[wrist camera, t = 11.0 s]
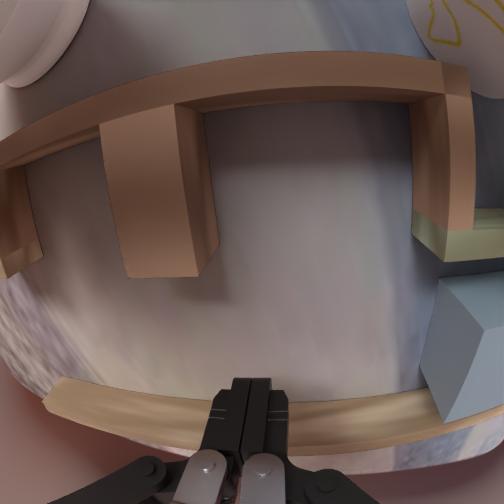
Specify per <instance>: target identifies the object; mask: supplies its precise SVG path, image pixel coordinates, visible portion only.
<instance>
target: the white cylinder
mask: <svg viewBox="0 0 504 504" xmlns="http://www.w3.org/2000/svg"><path fill="white" fill-rule="evenodd" d="M406 5H407V9H408V13H409V16H410V18H411V21H412V23H413V25H414V28H415V30H416V32H417V33H418V35H419V37H420V39H421V40H422V42H423V43H424V45H425V46H426V48H427V49H428V51H429V52H430V53H431V55H432V56H433V57H434V58H435V60H436V61H441V62H446V63H451V64H455V65H460V66H464V67H467V70H468V76H469V82H470V89H471V91H473V92H474V93H477V94H479V95H481V96H484V97H487V98H492V99H502V98H504V0H406Z"/></svg>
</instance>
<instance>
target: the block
mask: <svg viewBox="0 0 504 504" xmlns="http://www.w3.org/2000/svg"><path fill="white" fill-rule="evenodd" d="M419 366H420V368H421V371H422V373H423V375H424V377H425V380H426V382H427V384H428V387H429V389H430V391H431V394H432V396H433V398H434V401H435V403H436V406H437V408H438V411H439V413H440V416H441V418H442V421H443V423H448V422H451V421H455V420H458V419H461V418H465V417H468V416H471V415H474V414H477V413H480V412H482V411H485V410H488V409H491V408H493V407H496V406H499V405H501V404H504V271H497V272H489V273H481V274H472V275H463V276H454V277H445V278H439V282H438V288H437V293H436V299H435V304H434V309H433V313H432V318H431V322H430V327H429V331H428V335H427V339H426V343H425V346H424V350H423V354H422V357H421V360H420V364H419Z"/></svg>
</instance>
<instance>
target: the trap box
mask: <svg viewBox="0 0 504 504" xmlns="http://www.w3.org/2000/svg"><path fill="white" fill-rule="evenodd" d="M312 101H376V102H395V103H408V105H409V115H410V127H411V141H412V166H413V203H412V228H411V234H412V235H413V236H415V237H416V238H417V239H418V240H419V241H420V242H422V243H423V244H424V245H425V246H426V247H427V248H428V249H430V250H431V251H432V252H433V253H434V254H435V255H436V256H437V257H439V258H440V259H441V260H442V261H443V262H455V261H467V260H478V259H489V258H499V257H504V208H474V207H475V188H476V145H475V127H474V115H473V105H472V97H471V89H470V82H469V76H468V70H467V67H464V66H460V65H455V64H451V63H446V62H441V61H436V60H430V59H424V58H418V57H411V56H403V55H394V54H384V53H371V52H352V51H306V52H286V53H273V54H263V55H254V56H246V57H238V58H232V59H225V60H219V61H214V62H208V63H203V64H198V65H193V66H189V67H184V68H180V69H176V70H172V71H168V72H164V73H160V74H156V75H153V76H149V77H146V78H142V79H139V80H136V81H132V82H129V83H126V84H123V85H120V86H117V87H114V88H112V89H109V90H106V91H103V92H101V93H98V94H95V95H93V96H90V97H88V98H85V99H83V100H80V101H78V102H76V103H73V104H71V105H69V106H67V107H64V108H62V109H60V110H58V111H56V112H54V113H51V114H49V115H47V116H45V117H43V118H41V119H39V120H37V121H35V122H34V123H32V124H30V125H28V126H26V127H24V128H22V129H21V130H19V131H17V132H15V133H14V134H12V135H10V136H8V137H7V138H5V139H3V140H2V141H0V279H8V278H10V277H11V276H13V275H14V274H16V273H17V272H19V271H21V270H22V269H24V268H25V267H27V266H29V265H30V264H32V263H33V262H35V261H37V260H38V259H40V258H42V257H43V253H42V250H41V246H40V243H39V239H38V235H37V231H36V227H35V223H34V218H33V214H32V209H31V204H30V199H29V194H28V188H27V182H26V175H25V168H24V165H25V164H28V163H30V162H33V161H35V160H37V159H40V158H42V157H45V156H47V155H50V154H53V153H55V152H58V151H61V150H63V149H66V148H69V147H72V146H75V145H78V144H81V143H84V142H87V141H90V140H93V139H96V138H99V137H101V146H102V154H103V161H104V168H105V175H106V181H107V187H108V193H109V198H110V204H111V209H112V214H113V219H114V224H115V228H116V233H117V237H118V242H119V246H120V250H121V254H122V258H123V262H124V266H125V270H126V274H127V277H128V278H168V277H199V275H200V274H201V272H202V271H203V269H204V267H205V266H206V264H207V263H208V261H209V260H210V258H211V257H212V255H213V254H214V252H215V251H216V249H217V248H218V246H219V245H220V242H219V235H218V228H217V221H216V213H215V206H214V198H213V191H212V183H211V175H210V167H209V159H208V150H207V142H206V133H205V124H204V115H203V113H206V112H212V111H218V110H225V109H232V108H240V107H248V106H257V105H267V104H279V103H293V102H312ZM42 402H43V404H44V405H45V407H46V408H47V410H48V411H49V412H51V413H54V414H57V415H59V416H61V417H64V418H67V419H70V420H72V421H75V422H78V423H81V424H84V425H87V426H90V427H93V428H96V429H99V430H103V431H106V432H110V433H113V434H117V435H120V436H124V437H128V438H132V439H136V440H141V441H145V442H150V443H154V444H159V445H165V446H170V447H176V448H182V449H189V450H196V451H198V450H199V448H200V445H201V442H202V438H203V435H204V431H205V428H206V424H207V421H208V418H209V414H210V410H211V406H212V403H213V401H204V400H193V399H183V398H174V397H166V396H159V395H152V394H145V393H139V392H133V391H127V390H122V389H116V388H111V387H107V386H102V385H97V384H93V383H88V382H84V381H80V380H76V379H72V378H69V377H65V376H62V377H61V379H60V380H59V381H58V382H57V383H56V385H55V386H54V387H53V388H52V390H51V391H50V392H49V393H48V395H47V396H46V397H45V398H44V400H43V401H42ZM503 413H504V404H501V405H499V406H496V407H493V408H491V409H488V410H485V411H482V412H480V413H477V414H474V415H471V416H468V417H465V418H461V419H458V420H455V421H451V422H448V423H443V421H442V418H441V416H440V413H439V411H438V408H437V406H436V403H435V401H434V398H433V396H432V394H431V391H430V389H429V387H428V388H423V389H418V390H412V391H407V392H401V393H395V394H388V395H382V396H374V397H366V398H358V399H348V400H336V401H323V402H303V403H289V435H288V456H313V455H329V454H340V453H350V452H358V451H366V450H373V449H379V448H385V447H391V446H396V445H401V444H406V443H411V442H415V441H420V440H424V439H428V438H432V437H436V436H439V435H443V434H446V433H450V432H453V431H456V430H460V429H463V428H466V427H469V426H472V425H475V424H477V423H480V422H483V421H486V420H488V419H491V418H493V417H496V416H498V415H501V414H503Z"/></svg>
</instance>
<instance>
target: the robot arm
mask: <svg viewBox="0 0 504 504" xmlns="http://www.w3.org/2000/svg"><path fill="white" fill-rule="evenodd" d="M288 435H289V403H288V398H287V396H286V394H285V392H284V390H272V381H271V378H253V379H252V378H234V379H233V382H232V387H231V390H225V389H221V390H220V391H219V393H218V394H217V395H216V396H215V397H214V399H213V403H212V406H211V410H210V414H209V418H208V421H207V424H206V428H205V431H204V435H203V438H202V442H201V445H200V448H199V450H198V452H196V453H194V454H193V455H192V456H191V457H190V458H189V459H187V460H184V461H178V462H168V463H163V461H161V459H159V458H157V457H154V456H143V457H141V458H138V459H137V460H135V461H133V462H131V463H130V464H128V465H126V466H124V467H123V468H121V469H119V470H117V471H115V472H113V473H111V474H109V475H108V476H106V477H104V478H102V479H100V480H98V481H96V482H94V483H92V484H90V485H88V486H86V487H84V488H82V489H79V490H77V491H75V492H73V493H71V494H69V495H67V496H64V497H62V498H60V499H57V500H55V501H52V502H50V503H48V504H235V501H236V498H237V494H238V482H239V477H242V485H241V499H240V504H379V503H378V502H377V501H376V500H374V499H373V498H372V497H370V496H369V495H368V494H367V493H365V492H364V491H363V490H362V489H360V488H359V487H358V486H357V485H356V484H354V483H353V482H352V481H351V480H350V479H348V478H347V477H346V476H345V475H344V474H342V473H341V472H339V471H337V470H334V469H322V470H319V471H316V472H312V471H308V470H304V469H300V468H298V467H296V466H294V465H293V464H292V463H291V462H290V461H289V460H288V458H287V456H288Z"/></svg>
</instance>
